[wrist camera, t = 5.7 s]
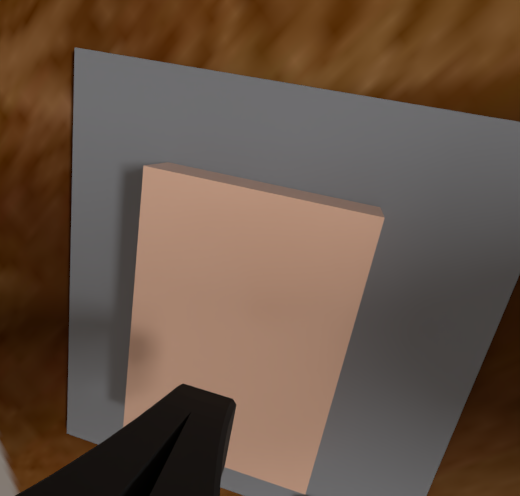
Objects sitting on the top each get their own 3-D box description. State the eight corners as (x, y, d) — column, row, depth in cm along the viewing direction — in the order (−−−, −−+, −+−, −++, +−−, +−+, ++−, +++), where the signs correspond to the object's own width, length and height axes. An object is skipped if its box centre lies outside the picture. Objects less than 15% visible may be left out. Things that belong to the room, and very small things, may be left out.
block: (384, 217, 10) (143, 165, 11) (305, 494, 13) (123, 432, 14) (380, 206, 12) (168, 162, 13) (310, 457, 15) (144, 403, 16)
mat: (573, 131, 10) (579, 132, 10) (401, 543, 15) (402, 550, 15) (80, 49, 13) (74, 47, 12) (71, 428, 18) (66, 433, 17)
